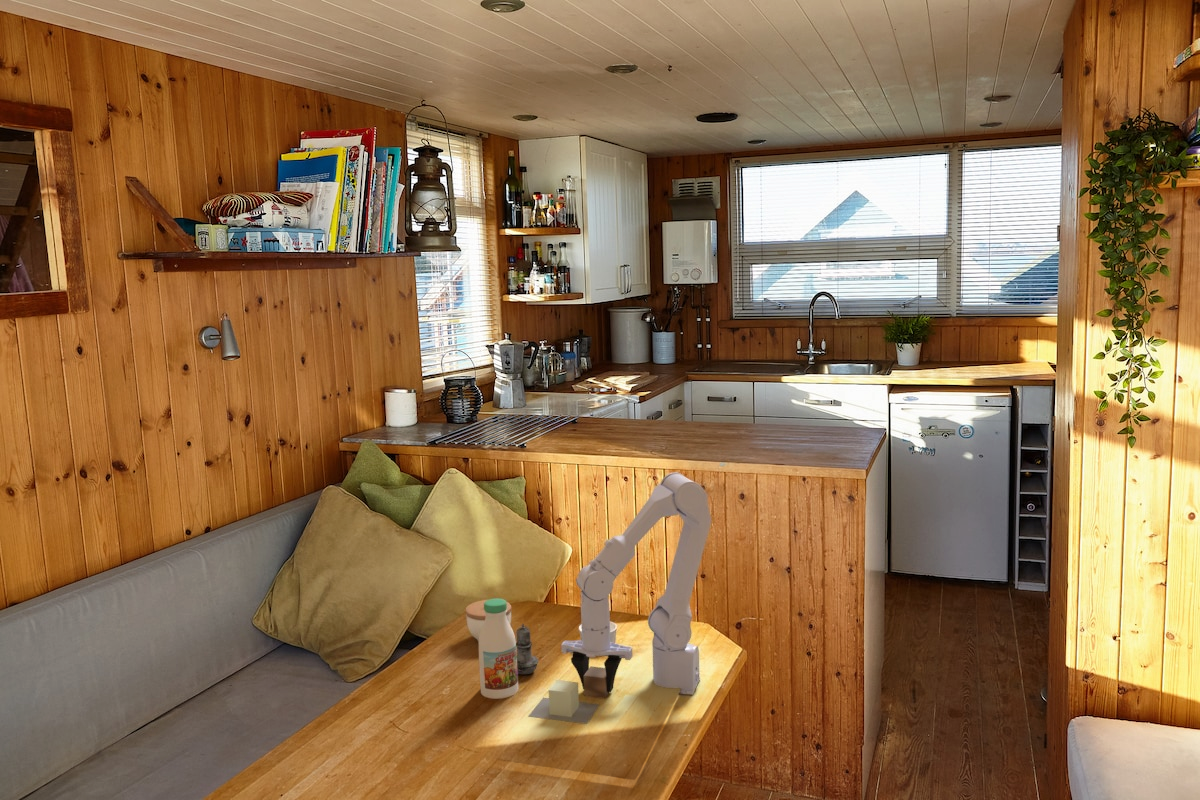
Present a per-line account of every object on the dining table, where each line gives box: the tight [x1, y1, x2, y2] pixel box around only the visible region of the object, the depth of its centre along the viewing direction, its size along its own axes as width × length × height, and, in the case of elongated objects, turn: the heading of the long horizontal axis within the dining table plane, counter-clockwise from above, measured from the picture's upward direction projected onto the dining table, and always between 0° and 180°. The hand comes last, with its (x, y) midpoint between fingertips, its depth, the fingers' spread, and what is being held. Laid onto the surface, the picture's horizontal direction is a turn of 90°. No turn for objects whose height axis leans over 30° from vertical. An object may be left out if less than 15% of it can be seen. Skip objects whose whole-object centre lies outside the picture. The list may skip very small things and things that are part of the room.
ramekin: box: [578, 620, 618, 644], centre depth 217 cm, size 9×9×4 cm
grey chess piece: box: [516, 623, 539, 675], centre depth 200 cm, size 6×6×12 cm
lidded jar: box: [465, 598, 512, 643], centre depth 221 cm, size 11×11×9 cm
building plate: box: [528, 697, 601, 725], centre depth 184 cm, size 12×8×1 cm, turn 72°
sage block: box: [548, 679, 580, 717], centre depth 183 cm, size 4×4×5 cm
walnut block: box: [583, 665, 610, 699], centre depth 191 cm, size 4×4×5 cm
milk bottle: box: [478, 598, 519, 700], centre depth 192 cm, size 8×8×20 cm
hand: (598, 688), depth 191 cm, fingers closed on walnut block, 4 cm apart
